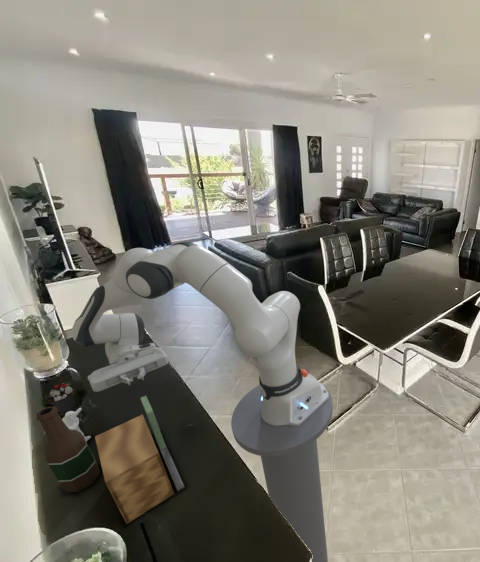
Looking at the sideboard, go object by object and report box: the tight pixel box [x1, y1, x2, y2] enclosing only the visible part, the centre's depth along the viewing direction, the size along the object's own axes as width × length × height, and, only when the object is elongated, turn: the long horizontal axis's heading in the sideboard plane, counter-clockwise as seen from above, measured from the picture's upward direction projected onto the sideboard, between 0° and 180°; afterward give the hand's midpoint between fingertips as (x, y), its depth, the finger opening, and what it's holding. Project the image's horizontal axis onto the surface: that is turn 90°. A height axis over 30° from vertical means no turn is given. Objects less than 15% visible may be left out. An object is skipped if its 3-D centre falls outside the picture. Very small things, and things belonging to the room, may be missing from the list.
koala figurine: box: [43, 407, 92, 443], centre depth 91 cm, size 8×7×12 cm
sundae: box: [44, 377, 84, 421], centre depth 100 cm, size 7×7×15 cm
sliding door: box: [139, 395, 167, 451], centre depth 92 cm, size 2×8×14 cm, turn 45°
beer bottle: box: [36, 406, 101, 493], centre depth 80 cm, size 8×8×24 cm
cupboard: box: [94, 414, 185, 525], centre depth 83 cm, size 12×24×15 cm, turn 45°
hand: (135, 381), depth 99 cm, fingers closed
